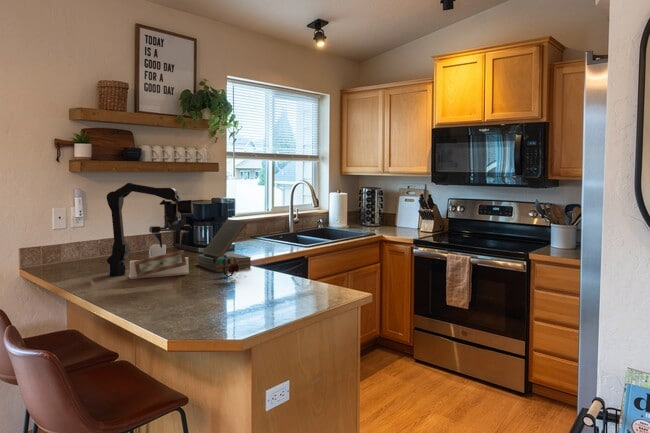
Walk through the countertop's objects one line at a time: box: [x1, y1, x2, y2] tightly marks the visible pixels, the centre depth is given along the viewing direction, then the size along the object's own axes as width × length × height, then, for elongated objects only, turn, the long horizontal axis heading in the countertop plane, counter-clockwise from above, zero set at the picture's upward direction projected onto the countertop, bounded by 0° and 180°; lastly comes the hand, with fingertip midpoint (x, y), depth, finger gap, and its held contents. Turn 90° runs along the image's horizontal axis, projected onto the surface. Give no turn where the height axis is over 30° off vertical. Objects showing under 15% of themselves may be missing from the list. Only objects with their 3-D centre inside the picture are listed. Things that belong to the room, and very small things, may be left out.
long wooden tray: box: [128, 256, 190, 280], centre depth 224 cm, size 26×6×8 cm, turn 121°
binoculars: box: [213, 255, 240, 277], centre depth 224 cm, size 9×11×10 cm
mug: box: [148, 243, 167, 258], centre depth 247 cm, size 10×7×12 cm, turn 66°
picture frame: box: [133, 250, 186, 277], centre depth 220 cm, size 22×2×7 cm, turn 121°
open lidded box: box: [197, 218, 252, 273], centre depth 251 cm, size 23×20×25 cm
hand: (171, 247), depth 227 cm, fingers open, 9 cm apart
